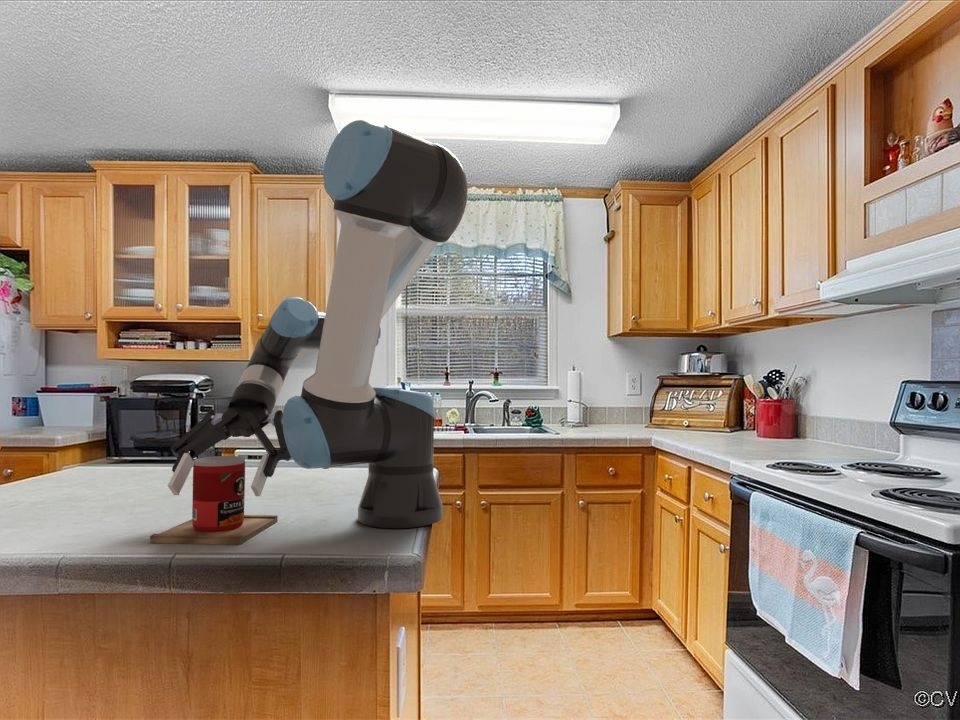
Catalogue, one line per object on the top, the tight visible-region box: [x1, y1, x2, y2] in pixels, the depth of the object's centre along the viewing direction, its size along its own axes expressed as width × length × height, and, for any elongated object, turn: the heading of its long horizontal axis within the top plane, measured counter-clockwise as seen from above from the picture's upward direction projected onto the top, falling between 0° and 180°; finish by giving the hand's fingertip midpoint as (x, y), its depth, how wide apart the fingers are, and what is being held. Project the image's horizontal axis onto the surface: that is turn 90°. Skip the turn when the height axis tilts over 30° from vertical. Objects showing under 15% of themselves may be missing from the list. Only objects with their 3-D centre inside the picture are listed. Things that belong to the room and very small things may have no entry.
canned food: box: [191, 455, 246, 532], centre depth 94 cm, size 8×8×11 cm
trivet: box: [149, 514, 279, 546], centre depth 94 cm, size 14×14×1 cm
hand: (213, 491), depth 92 cm, fingers open, 13 cm apart
